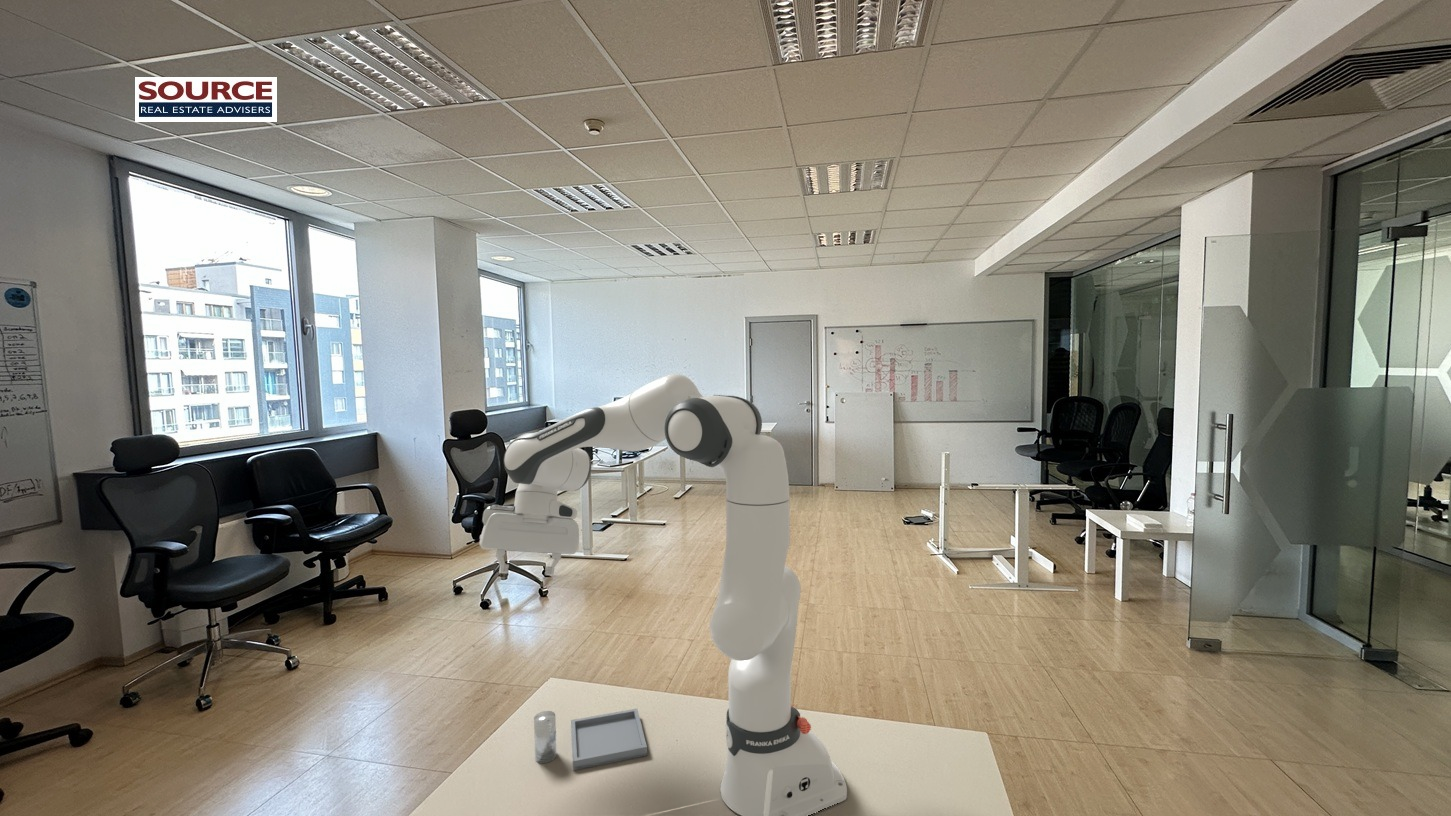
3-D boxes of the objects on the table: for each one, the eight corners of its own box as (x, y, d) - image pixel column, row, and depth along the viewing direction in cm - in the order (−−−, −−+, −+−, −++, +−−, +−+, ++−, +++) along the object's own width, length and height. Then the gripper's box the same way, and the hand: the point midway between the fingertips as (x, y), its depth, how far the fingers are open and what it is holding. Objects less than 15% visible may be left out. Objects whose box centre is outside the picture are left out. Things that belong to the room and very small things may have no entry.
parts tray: (637, 716, 125) (637, 708, 125) (647, 755, 112) (646, 746, 112) (571, 728, 121) (570, 720, 121) (573, 770, 108) (572, 761, 108)
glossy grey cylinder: (556, 748, 115) (555, 709, 114) (556, 760, 111) (555, 720, 111) (535, 752, 114) (534, 712, 113) (534, 765, 110) (533, 724, 109)
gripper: (487, 501, 118) (476, 571, 113) (584, 511, 128) (578, 575, 123) (482, 505, 123) (471, 572, 118) (575, 514, 133) (569, 576, 128)
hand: (526, 574), depth 121 cm, fingers open, 8 cm apart
